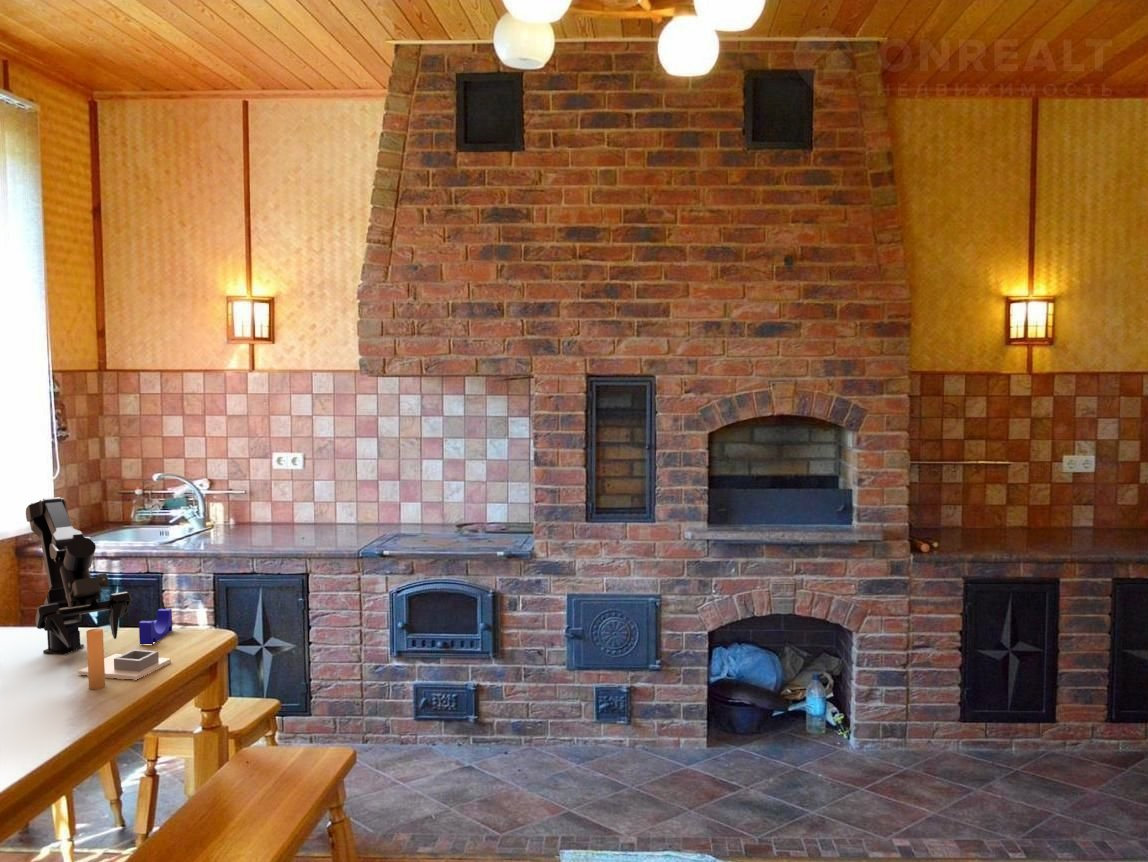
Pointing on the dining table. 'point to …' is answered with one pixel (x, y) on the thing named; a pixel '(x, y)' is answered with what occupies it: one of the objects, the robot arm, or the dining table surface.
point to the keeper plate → (131, 664)
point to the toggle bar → (95, 658)
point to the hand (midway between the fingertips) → (92, 642)
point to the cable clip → (156, 627)
